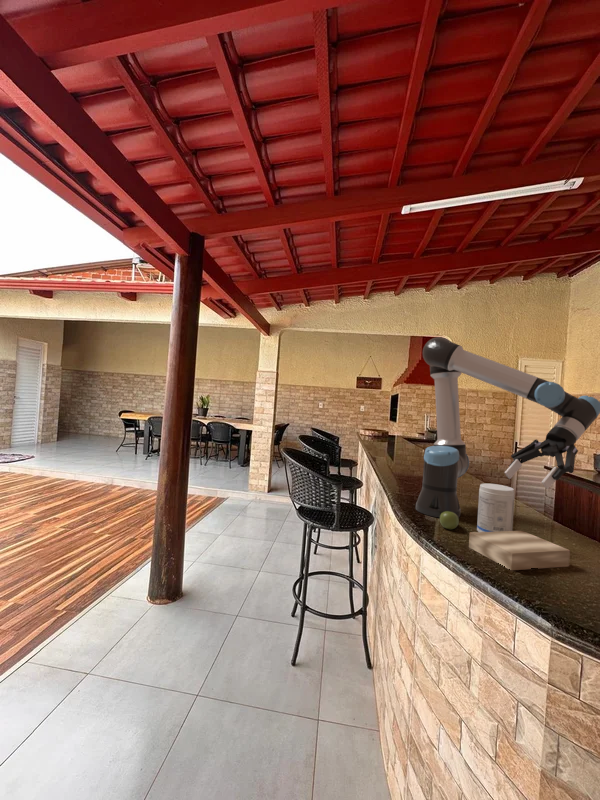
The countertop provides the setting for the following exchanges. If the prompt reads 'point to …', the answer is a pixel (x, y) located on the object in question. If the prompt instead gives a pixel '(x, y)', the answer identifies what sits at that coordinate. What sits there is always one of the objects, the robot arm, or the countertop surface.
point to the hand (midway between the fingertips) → (524, 480)
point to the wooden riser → (519, 550)
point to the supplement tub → (495, 508)
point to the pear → (449, 520)
